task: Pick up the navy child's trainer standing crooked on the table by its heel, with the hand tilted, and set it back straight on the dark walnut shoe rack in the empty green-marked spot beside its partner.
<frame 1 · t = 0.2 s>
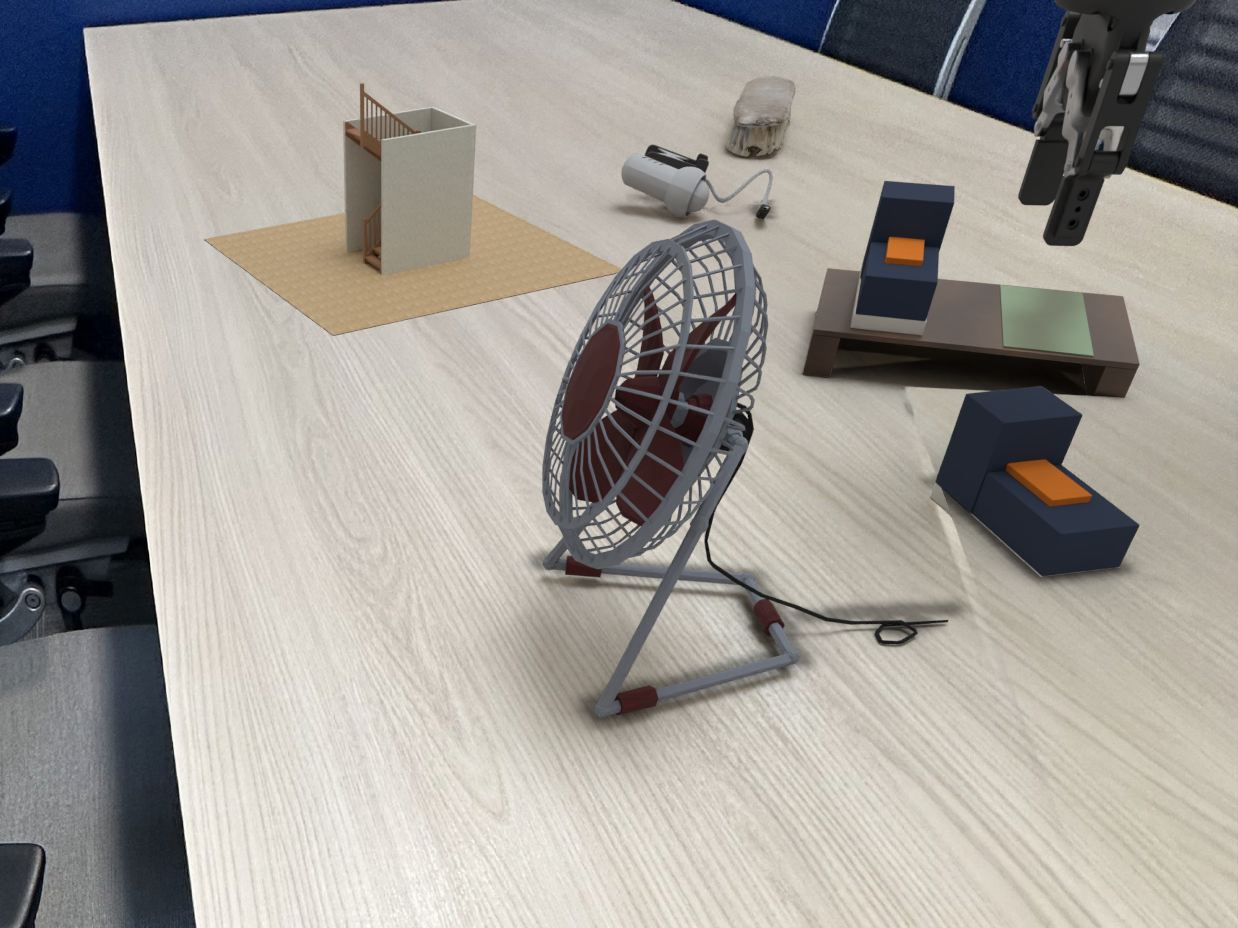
hand: (1046, 223, 78), 19 cm above the table, tool pointing down, fingers open, 8 cm apart
trainer: (983, 508, 91), on the table
shoe rack: (956, 357, 111), on the table
clip-on lamp: (697, 211, 142), on the table
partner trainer: (891, 286, 113), point 4 cm above the table, touching shoe rack
shoe brush: (757, 137, 164), on the table
staircase: (406, 256, 133), on the table
desk fan: (739, 638, 80), on the table
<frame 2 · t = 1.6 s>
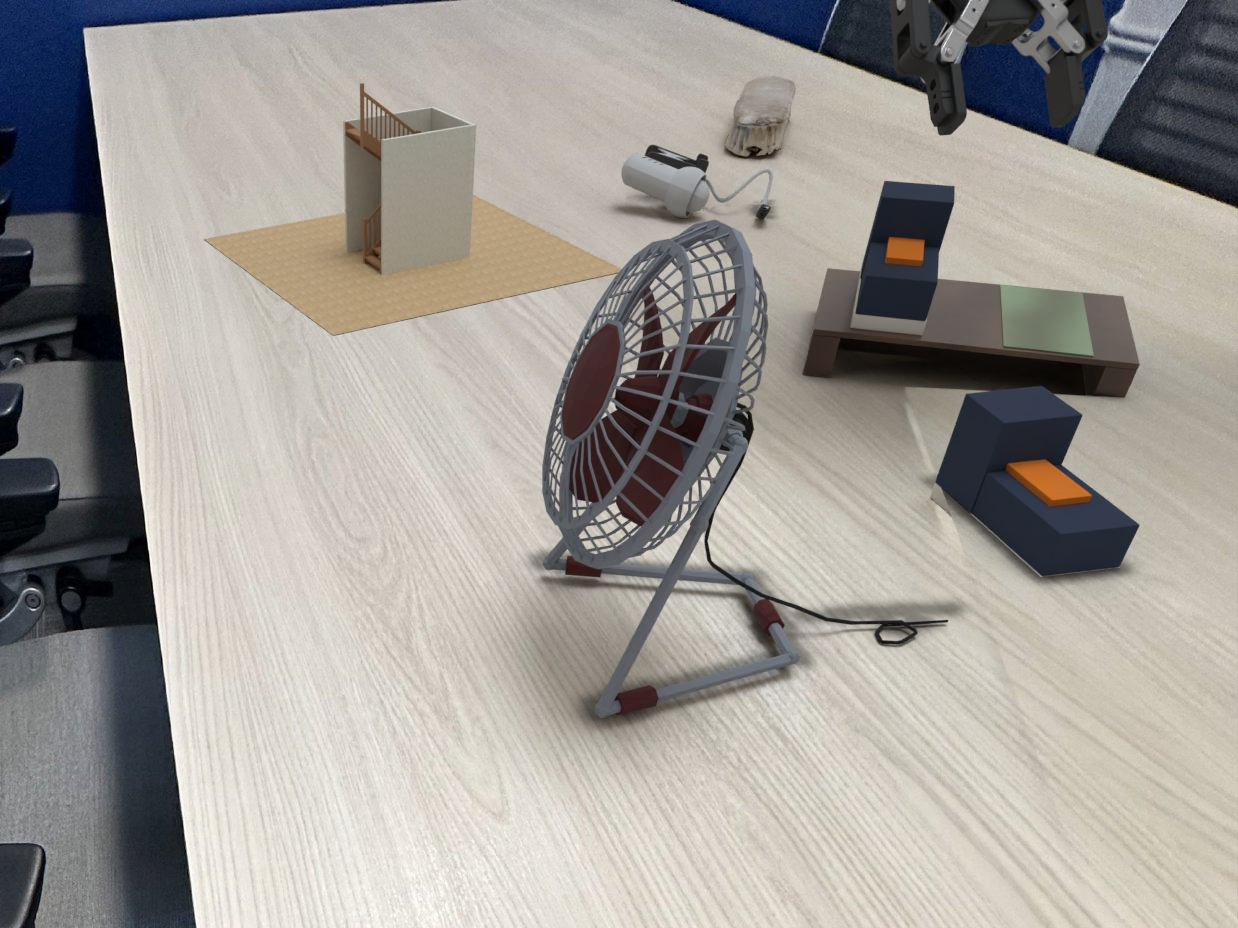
hand: (1010, 124, 83), 23 cm above the table, tool tilted 45°, fingers open, 8 cm apart
nothing on the table moved.
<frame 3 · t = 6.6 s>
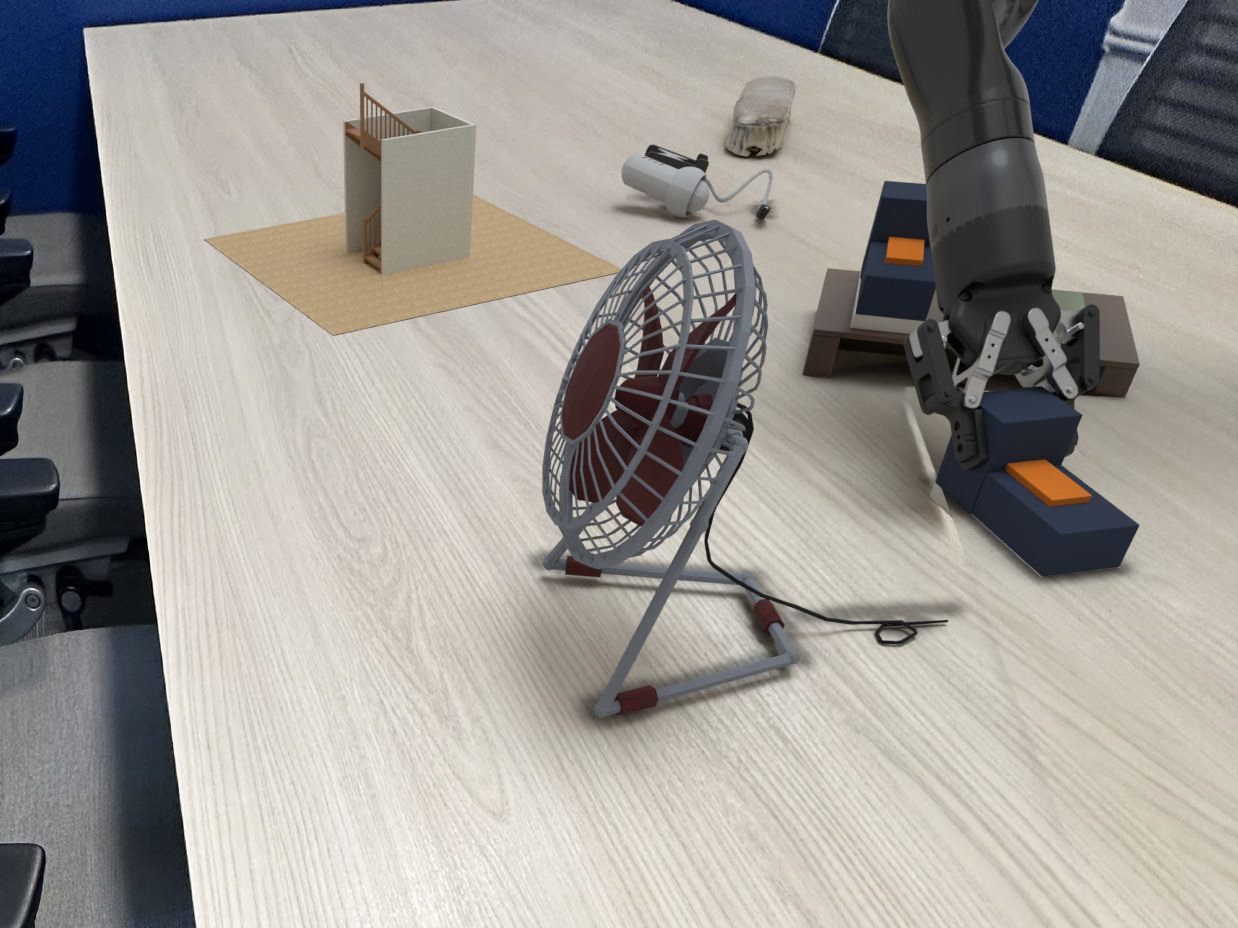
hand: (1018, 461, 87), 5 cm above the table, tool tilted 45°, fingers closed on trainer, 6 cm apart
trainer: (983, 508, 91), on the table, touching gripper
everything else where it was.
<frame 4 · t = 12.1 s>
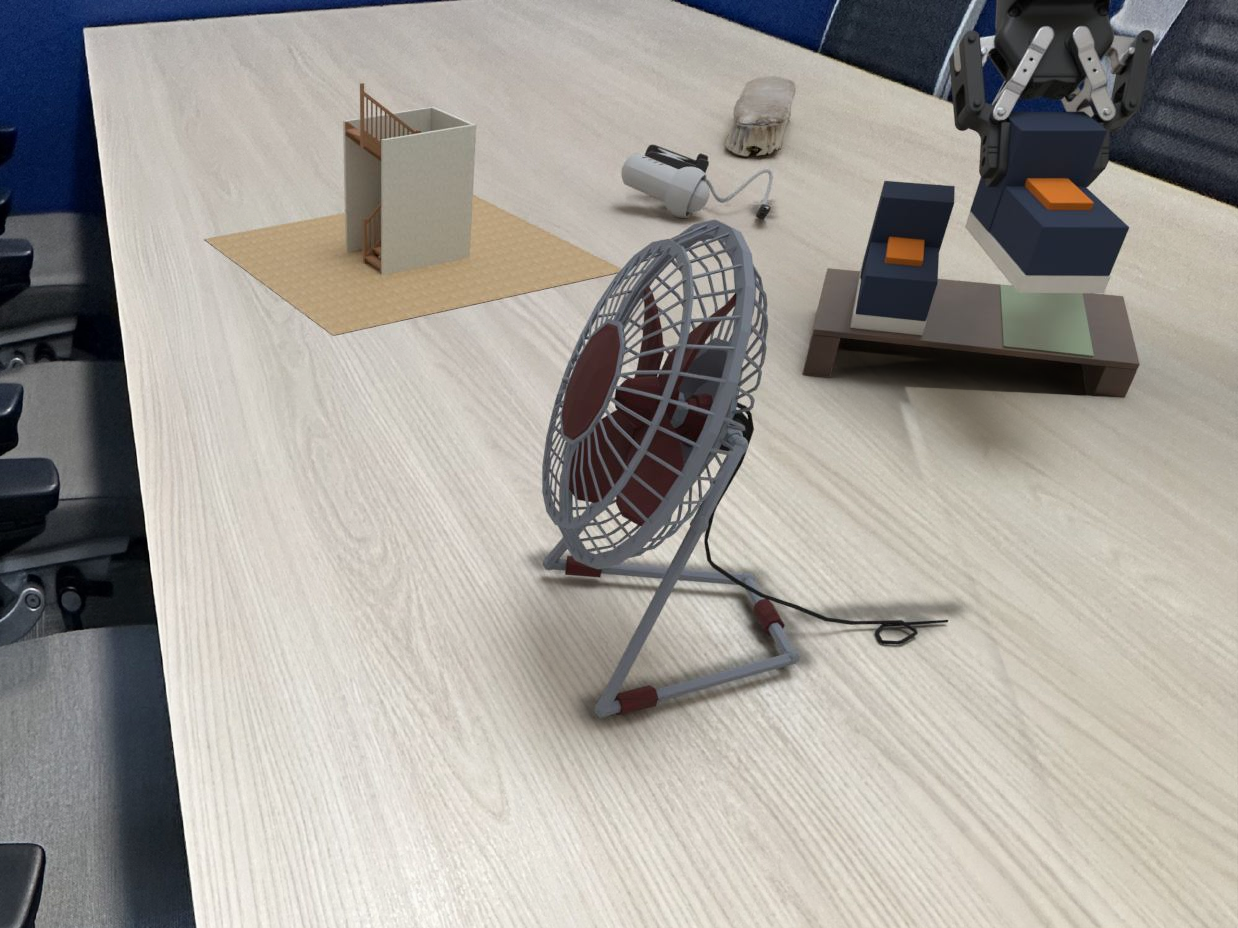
hand: (1042, 180, 90), 18 cm above the table, tool tilted 45°, fingers closed on trainer, 6 cm apart
trainer: (1012, 238, 95), point 13 cm above the table, touching gripper
everything else where it was.
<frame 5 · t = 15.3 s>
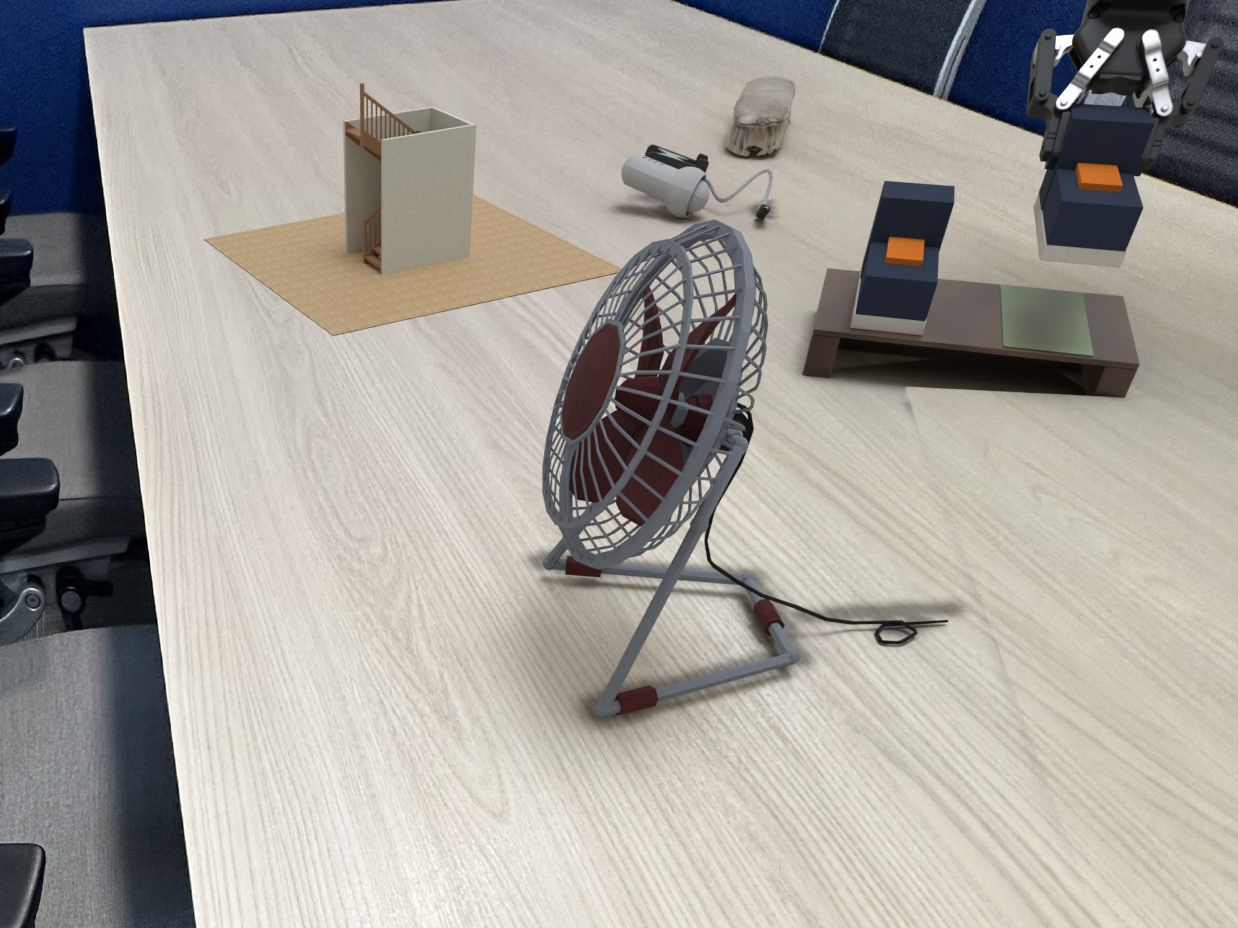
hand: (1095, 166, 100), 15 cm above the table, tool tilted 45°, fingers closed on trainer, 6 cm apart
trainer: (1071, 219, 105), point 11 cm above the table, touching gripper
everything else where it was.
when the fingers open (9 cm above the table, at t = 17.6 s): trainer stays where it is, resting on shoe rack.
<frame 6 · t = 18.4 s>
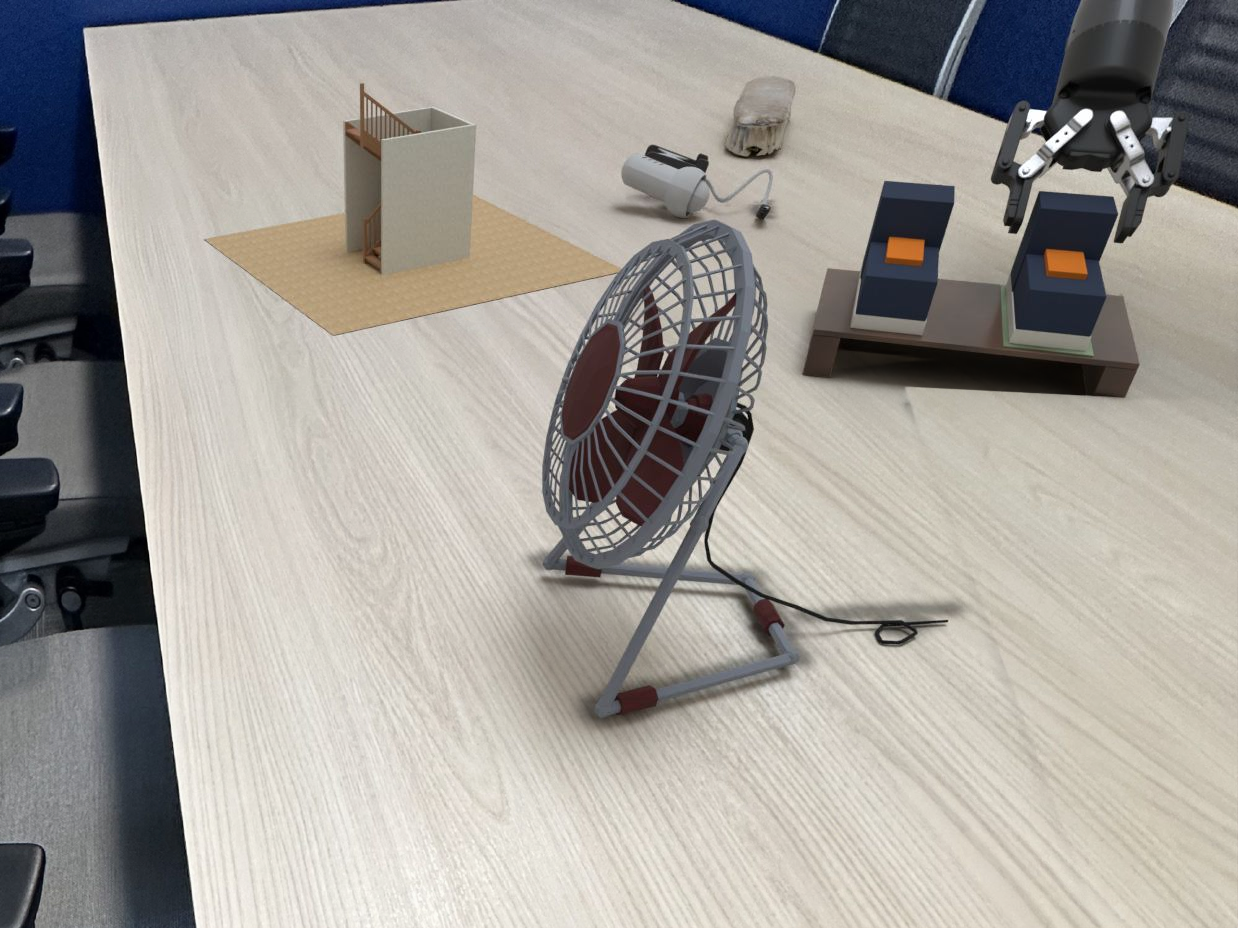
hand: (1068, 233, 105), 10 cm above the table, tool tilted 45°, fingers open, 8 cm apart
trainer: (1041, 299, 109), point 4 cm above the table, touching shoe rack
everything else where it was.
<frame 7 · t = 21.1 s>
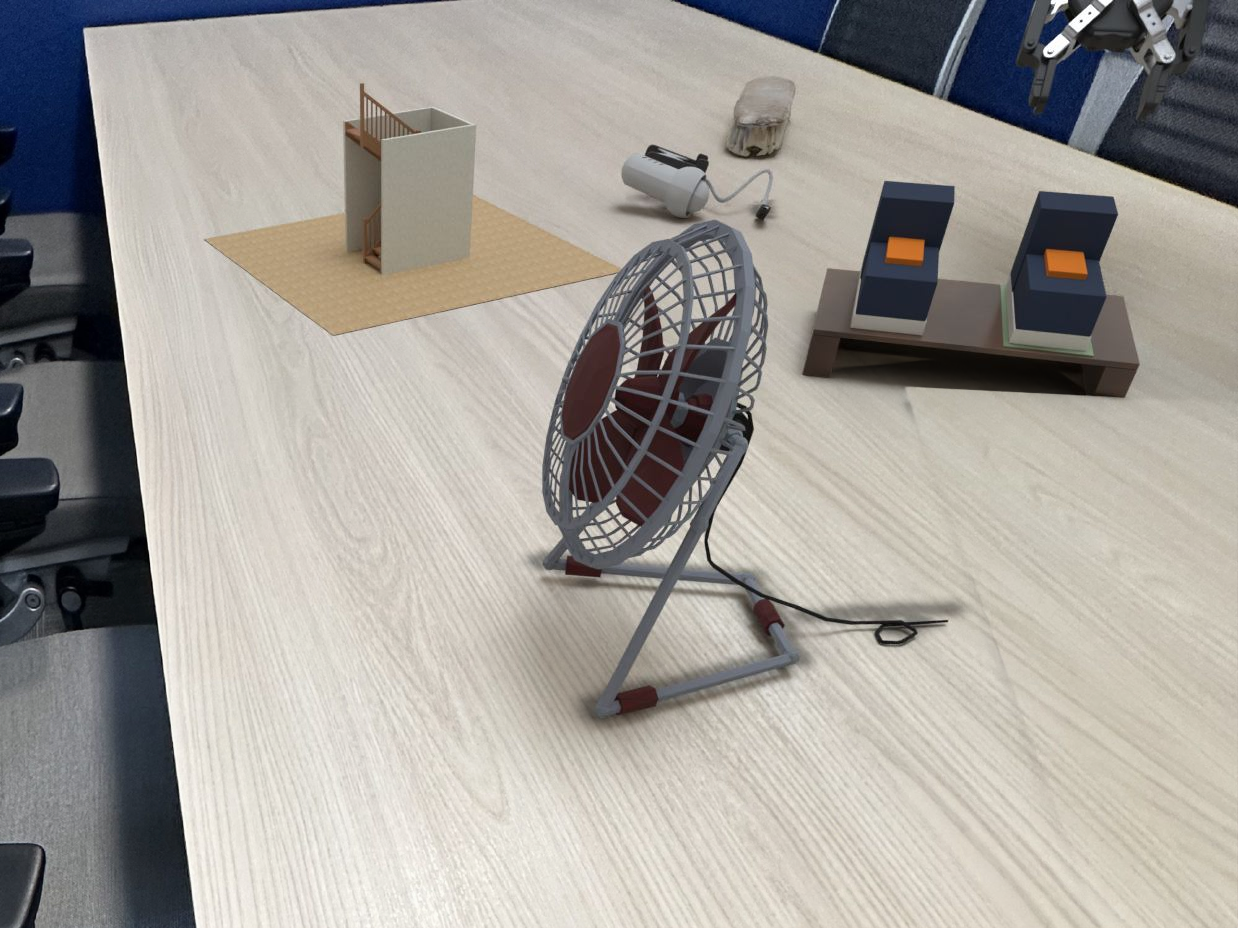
hand: (1091, 111, 108), 16 cm above the table, tool tilted 45°, fingers open, 8 cm apart
nothing on the table moved.
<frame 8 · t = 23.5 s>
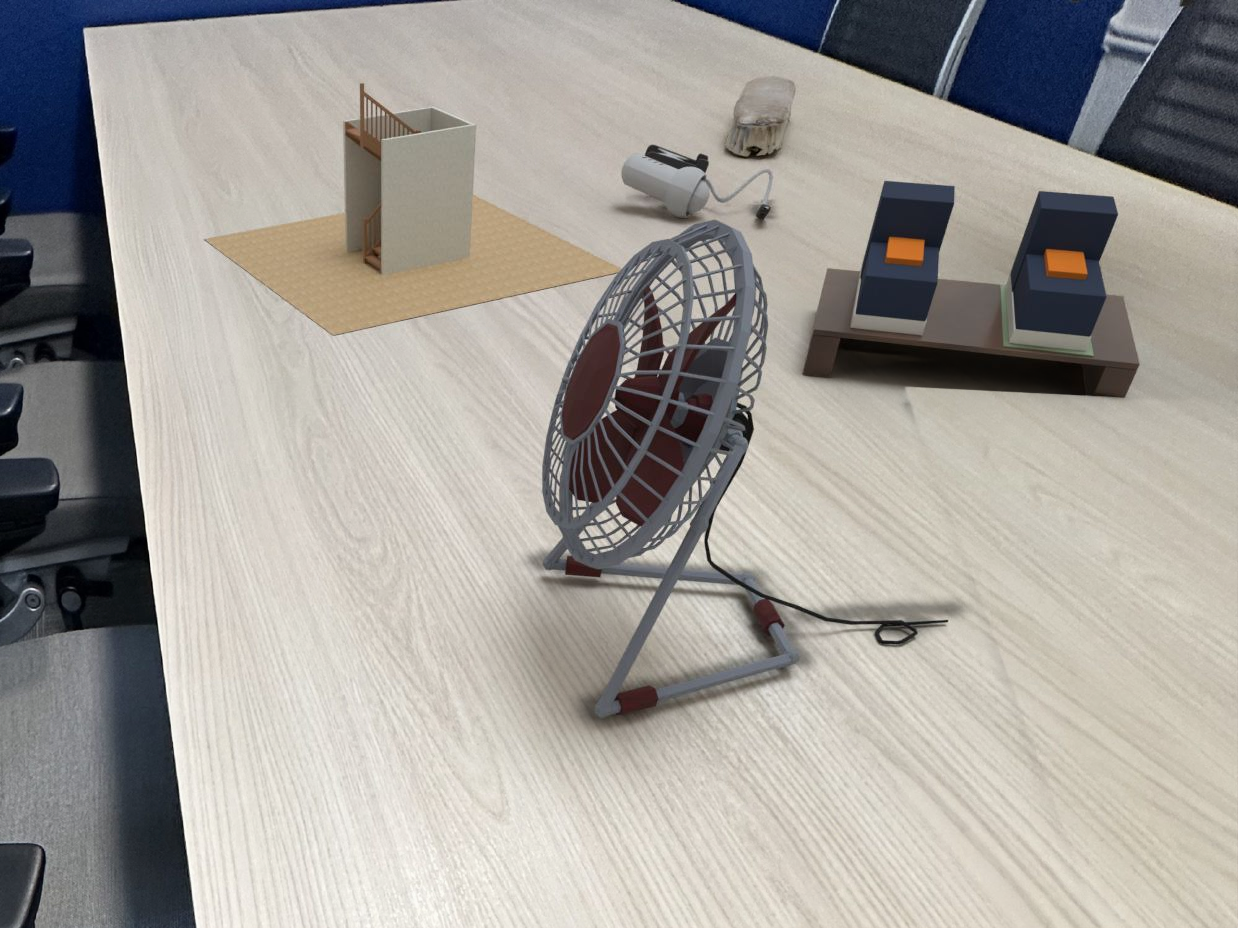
nothing on the table moved.
at the end: trainer 0.1 cm from the target spot on the shoe rack, point 4.1 cm above the shoe rack's base; trainer tilted 0°; the gripper is holding nothing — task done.
